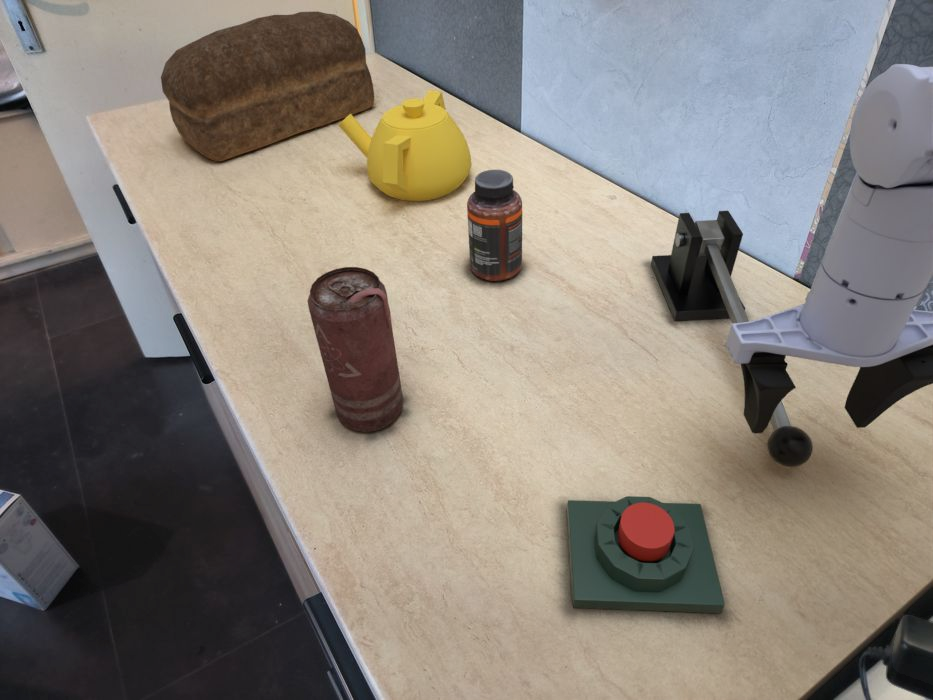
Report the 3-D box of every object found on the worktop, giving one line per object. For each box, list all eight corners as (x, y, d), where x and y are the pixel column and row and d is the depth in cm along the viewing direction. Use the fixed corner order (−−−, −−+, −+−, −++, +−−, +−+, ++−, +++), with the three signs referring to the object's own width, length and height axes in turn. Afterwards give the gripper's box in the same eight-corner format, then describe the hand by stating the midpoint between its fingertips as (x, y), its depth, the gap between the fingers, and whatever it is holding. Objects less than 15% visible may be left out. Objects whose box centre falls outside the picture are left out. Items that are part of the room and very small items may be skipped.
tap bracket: (742, 317, 67) (764, 249, 61) (674, 321, 67) (690, 253, 61) (712, 261, 74) (729, 195, 68) (650, 264, 74) (662, 199, 68)
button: (665, 516, 47) (669, 502, 46) (674, 562, 44) (679, 549, 43) (615, 515, 47) (617, 501, 46) (620, 560, 45) (623, 547, 43)
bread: (171, 139, 104) (132, 34, 93) (340, 84, 118) (323, -13, 108) (209, 170, 95) (171, 58, 85) (386, 106, 110) (373, 4, 99)
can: (402, 435, 57) (382, 311, 47) (330, 434, 57) (296, 311, 48) (410, 385, 61) (393, 262, 52) (344, 384, 62) (314, 263, 52)
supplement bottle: (524, 255, 76) (527, 165, 69) (518, 285, 72) (519, 193, 64) (474, 251, 77) (471, 162, 70) (465, 281, 73) (460, 190, 65)
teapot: (372, 141, 100) (362, 68, 93) (488, 151, 96) (486, 75, 89) (317, 207, 86) (299, 127, 79) (449, 222, 82) (443, 139, 75)
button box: (697, 512, 50) (705, 489, 48) (721, 613, 44) (731, 592, 42) (566, 508, 51) (569, 485, 49) (572, 608, 45) (575, 587, 43)
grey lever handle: (809, 473, 51) (826, 453, 49) (769, 475, 51) (783, 455, 49) (714, 240, 68) (723, 216, 65) (684, 241, 68) (691, 217, 65)
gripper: (953, 229, 42) (874, 377, 52) (731, 241, 42) (691, 387, 52) (1026, 295, 37) (923, 446, 46) (772, 309, 37) (720, 458, 46)
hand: (803, 420), depth 49 cm, fingers open, 7 cm apart
